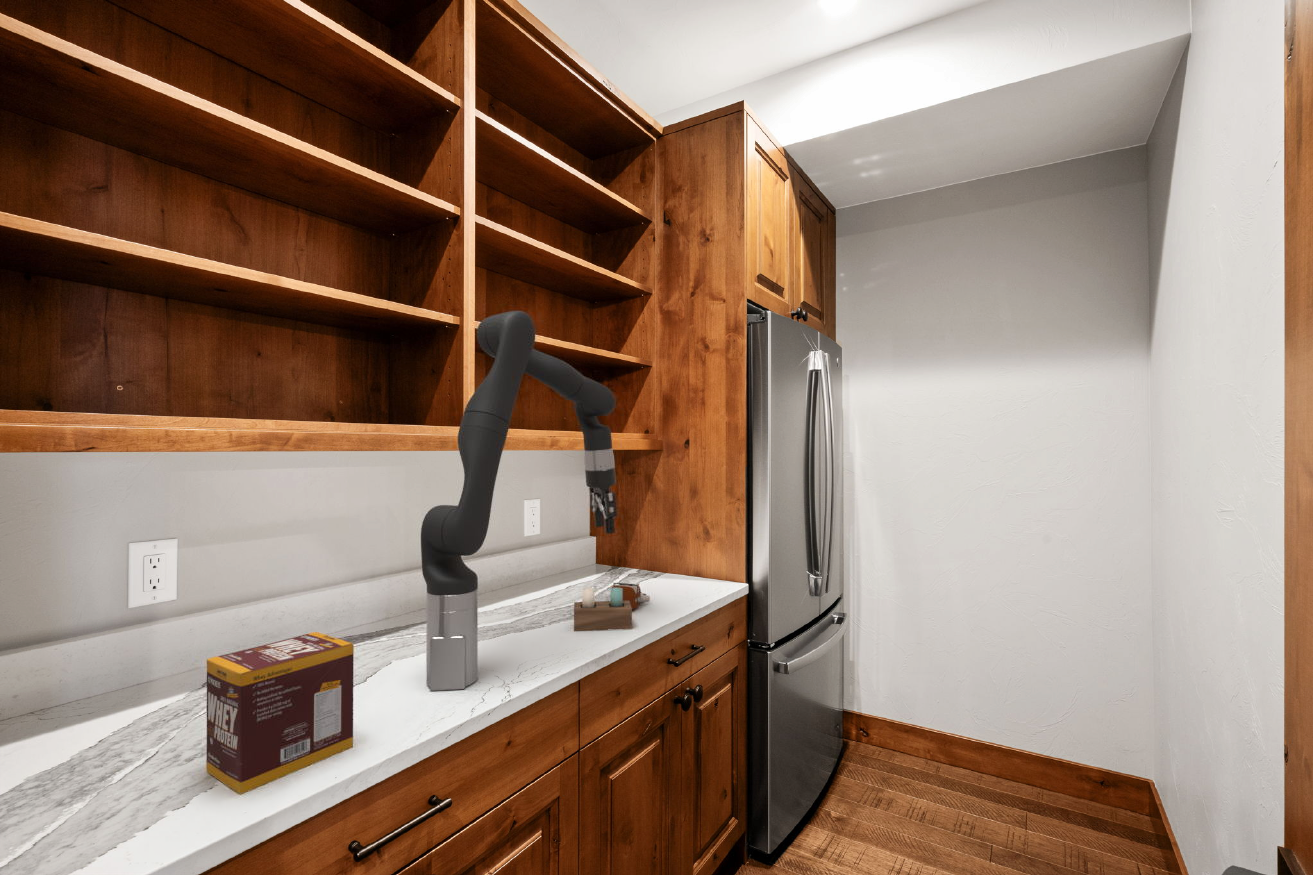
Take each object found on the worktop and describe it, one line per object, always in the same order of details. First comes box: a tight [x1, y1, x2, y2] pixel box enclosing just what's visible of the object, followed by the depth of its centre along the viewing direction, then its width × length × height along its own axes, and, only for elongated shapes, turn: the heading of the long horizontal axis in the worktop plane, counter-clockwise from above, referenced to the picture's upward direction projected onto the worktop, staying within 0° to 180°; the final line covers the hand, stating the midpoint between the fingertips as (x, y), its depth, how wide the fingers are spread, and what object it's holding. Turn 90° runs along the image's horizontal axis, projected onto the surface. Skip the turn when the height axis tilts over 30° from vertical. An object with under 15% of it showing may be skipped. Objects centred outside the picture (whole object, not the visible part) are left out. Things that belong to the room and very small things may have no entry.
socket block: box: [573, 600, 633, 632], centre depth 153 cm, size 8×14×5 cm, turn 97°
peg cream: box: [581, 587, 595, 608], centre depth 152 cm, size 3×3×5 cm
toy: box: [611, 582, 651, 611], centre depth 172 cm, size 9×7×15 cm
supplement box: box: [205, 631, 355, 795], centre depth 88 cm, size 10×15×16 cm
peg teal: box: [610, 587, 623, 607], centre depth 153 cm, size 3×3×5 cm
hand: (604, 529), depth 157 cm, fingers open, 8 cm apart
